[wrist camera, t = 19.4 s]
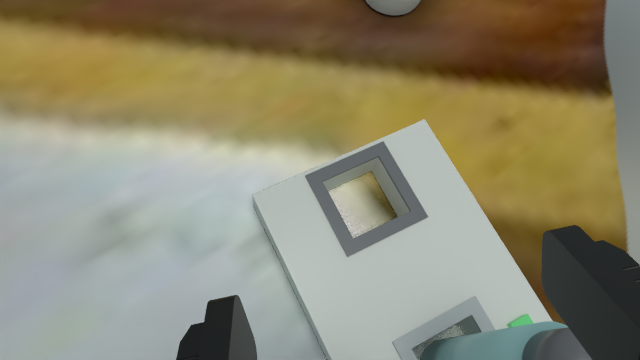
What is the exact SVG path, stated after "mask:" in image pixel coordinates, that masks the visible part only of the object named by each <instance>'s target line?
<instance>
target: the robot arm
mask: <svg viewBox="0 0 640 360" xmlns="http://www.w3.org/2000/svg"><path fill="white" fill-rule="evenodd" d="M541 279H542V285H543V289H544V292H545V294H546V296H547V298H548V300H549V302H550V303H551V304H552V306H553V307H554V308H555V310H556V311H557V313H558V314H559V315H560V317H561V318H562V319H563V321H564V322H565V323H566V325H567V326H568V327H569V329H570V330H571V332H572V333H573V334H574V336H575V337H576V338H577V340H578V341H579V342H580V344H581V345H582V347H583V348H584V349H585V351H586V352H587V353H588V355H589V356H590V357H591V359H592V360H640V266H639V264H638V263H637V262H636V261H635V260H633V258H632V257H630V256H629V255H628V254H627V253H626V252H625V251H624V250H622V249H620V248H618V247H616V246H614V245H612V244H610V243H608V242H606V241H604V240H601V241H596V242H594V241H593V240H592V239H591V238H590V237H589V236H588V235H587V234H586V233H585V232H584V231H583V230H582V229H581V228H580V227H578V226H576V225H573V226H568V227H563V228H559V229H554V230H549V231H546V232H544V234H543V241H542V271H541ZM176 360H257V352H256V345H255V340H254V337H253V334H252V331H251V328H250V325H249V322H248V320H247V317H246V314H245V311H244V308H243V306H242V303H241V300H240V298H239V296H238V295H234V296H229V297H224V298H219V299H214V300H210V301H209V302H208V304H207V309H206V315H205V321H204V322H203V323H198V324H194V325H191V326H190V328H189V329H188V331H187V332H186V334H185V335H184V337H183V339H182V340H181V342H180V345H179V350H178V354H177V359H176Z"/></svg>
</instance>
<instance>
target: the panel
mask: <svg viewBox="0 0 640 360" xmlns="http://www.w3.org/2000/svg"><path fill="white" fill-rule="evenodd" d="M370 171H372V173H373V174H374V176H375V178H376V180H377V181H378V183H379V185H380V187H381V188H382V190H383V192H384V194H385V195H386V197H387V199H388V201H389V202H390V204H391V206H392V208H393V209H394V211H395V213H396V215H397V216H398V217H397V218H395V219H393V220H391V221H389V222H387V223H385V224H383V225H381V226H379V227H377V228H375V229H373V230H371V231H369V232H367V233H364V234H362V235H360V236H358V237H356V238H354V239H353V238H352V236H351V234H350V232H349V230H348V228H347V226H346V224H345V223H344V221H343V219H342V217H341V215H340V213H339V211H338V210H337V208H336V206H335V204H334V202H333V200H332V198H331V196H330V195H329V193H328V191H329V190H331V189H333V188H335V187H337V186H340V185H342V184H344V183H346V182H348V181H351V180H353V179H355V178H357V177H359V176H362V175H364V174H366V173H368V172H370ZM252 197H253V204H254V208H255V210H256V212H257V214H258V216H259V218H260V220H261V223H262V225H263V227H264V229H265V231H266V233H267V235H268V237H269V239H270V241H271V243H272V246H273V248H274V250H275V252H276V254H277V256H278V258H279V260H280V262H281V264H282V266H283V268H284V271H285V273H286V275H287V277H288V279H289V281H290V283H291V285H292V287H293V289H294V291H295V294H296V296H297V298H298V300H299V302H300V304H301V306H302V308H303V310H304V312H305V314H306V316H307V319H308V321H309V323H310V325H311V327H312V329H313V331H314V333H315V335H316V337H317V339H318V342H319V344H320V346H321V348H322V350H323V352H324V354H325V356H326V358H327V360H418V359H417V357H416V355H415V353H414V351H413V350H412V348H414V347H415V346H417V345H419V344H421V343H422V342H424V341H426V340H428V339H429V338H431V337H433V336H435V335H437V334H438V333H440V332H442V331H444V330H445V329H447V328H449V327H451V326H453V325H454V324H456V323H459V324H460V326H461V328H462V330H463V331H464V333H465V335H469V334H475V333H481V332H487V331H493V330H498V329H504V328H510V327H516V326H521V325H527V324H533V323H539V322H545V321H551V322H553V321H552V319H551V318H550V316H549V315H548V313H547V312H546V310H545V308H544V307H543V305H542V304H541V302H540V301H539V299H538V297H537V296H536V294H535V293H534V291H533V289H532V288H531V286H530V285H529V283H528V282H527V280H526V278H525V277H524V275H523V274H522V272H521V271H520V269H519V267H518V266H517V264H516V263H515V261H514V259H513V258H512V256H511V255H510V253H509V252H508V250H507V248H506V247H505V245H504V244H503V242H502V241H501V239H500V237H499V236H498V234H497V233H496V231H495V230H494V228H493V226H492V225H491V223H490V222H489V220H488V218H487V217H486V215H485V214H484V212H483V211H482V209H481V207H480V206H479V204H478V203H477V201H476V200H475V198H474V196H473V195H472V193H471V192H470V190H469V189H468V187H467V185H466V184H465V182H464V181H463V179H462V177H461V176H460V174H459V173H458V171H457V170H456V168H455V166H454V165H453V163H452V162H451V160H450V159H449V157H448V155H447V154H446V152H445V151H444V149H443V148H442V146H441V144H440V143H439V141H438V140H437V138H436V136H435V135H434V133H433V132H432V130H431V129H430V127H429V125H428V124H427V122H426V121H425V119H424V120H422V121H420V122H417V123H415V124H413V125H410V126H408V127H406V128H404V129H401V130H399V131H397V132H394V133H392V134H390V135H388V136H385V137H383V138H381V139H378V140H376V141H374V142H372V143H369V144H367V145H365V146H362V147H360V148H358V149H356V150H353V151H351V152H349V153H346V154H344V155H342V156H340V157H337V158H335V159H333V160H330V161H328V162H326V163H324V164H321V165H319V166H317V167H314V168H312V169H310V170H308V171H305V172H303V173H301V174H298V175H296V176H294V177H292V178H289V179H287V180H285V181H282V182H280V183H278V184H275V185H273V186H271V187H269V188H266V189H264V190H262V191H259V192H257V193H255V194H253V195H252Z"/></svg>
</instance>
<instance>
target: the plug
mask: <svg viewBox="0 0 640 360" xmlns="http://www.w3.org/2000/svg"><path fill="white" fill-rule="evenodd" d="M421 360H592V359H591V357H590V356H589V355H588V353H587V352H586V351H585V349H584V348H583V347H582V345H581V344H580V342H579V341H578V340H577V338H576V337H575V336H574V334H573V333H572V332H571V330H570V329H569V327H568V326H566V325H564V324H561V323H557V322H551V321H545V322H539V323H533V324H527V325H521V326H516V327H510V328H504V329H498V330H493V331H487V332H481V333H475V334H469V335H464V336H458V337H452V338H446V339H441V340H436V341H434V342H432V343H431V344H429V345H428V346H427V347H426V349H425V350H424V352H423V354H422V357H421Z"/></svg>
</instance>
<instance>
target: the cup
mask: <svg viewBox="0 0 640 360" xmlns="http://www.w3.org/2000/svg"><path fill="white" fill-rule="evenodd" d="M365 1H366V2H367V3H368V4H369V5H370V6H371V7H372V8H373V9H375V10H376V11H378V12H380V13H383V14H386V15H403V14H406V13H409V12H410V11H412V10H413V9H415V8H416V7H417V5H418V4H419V2H420V1H421V0H365Z"/></svg>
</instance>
